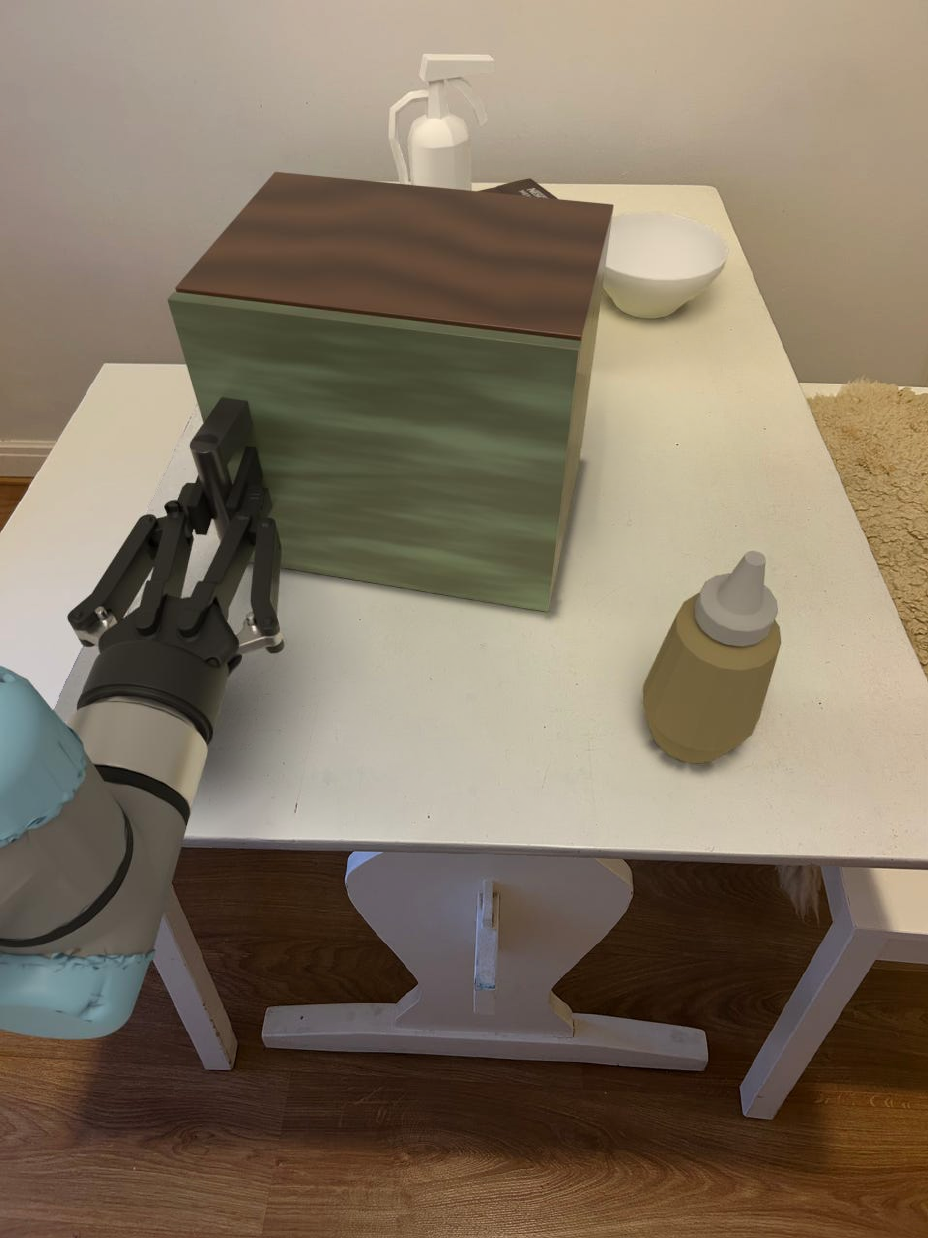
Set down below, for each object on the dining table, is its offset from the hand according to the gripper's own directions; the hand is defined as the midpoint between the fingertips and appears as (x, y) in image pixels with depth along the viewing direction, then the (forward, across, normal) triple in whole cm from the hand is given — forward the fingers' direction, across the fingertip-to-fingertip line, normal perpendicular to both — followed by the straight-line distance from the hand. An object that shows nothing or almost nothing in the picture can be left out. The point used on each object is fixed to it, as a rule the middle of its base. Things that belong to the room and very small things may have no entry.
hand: (236, 460), depth 62 cm
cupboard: (+9, +13, -12) cm, 19 cm away
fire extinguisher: (+44, +12, -12) cm, 48 cm away
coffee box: (+35, +21, -12) cm, 42 cm away
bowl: (+45, +36, -12) cm, 59 cm away
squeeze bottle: (-14, +34, -12) cm, 39 cm away
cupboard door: (-4, +10, -12) cm, 16 cm away
